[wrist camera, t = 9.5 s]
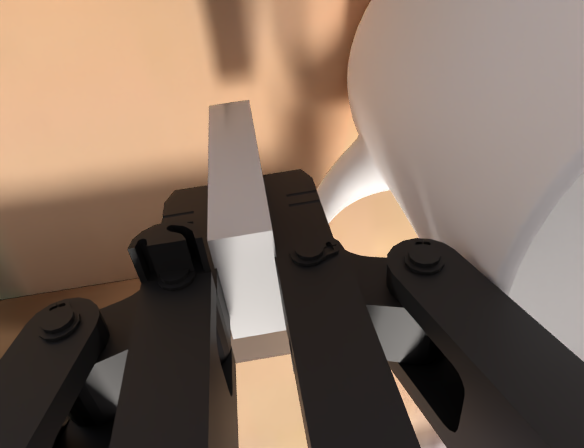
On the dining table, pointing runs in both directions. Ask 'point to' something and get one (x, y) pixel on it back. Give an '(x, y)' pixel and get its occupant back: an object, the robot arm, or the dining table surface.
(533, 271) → the mug
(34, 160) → the dining table surface
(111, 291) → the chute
